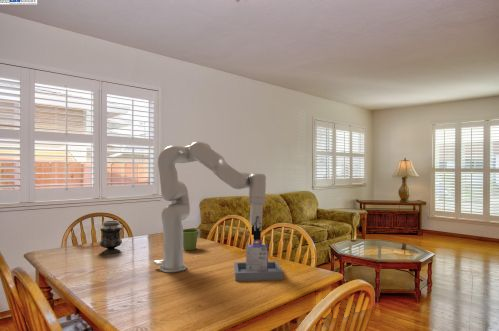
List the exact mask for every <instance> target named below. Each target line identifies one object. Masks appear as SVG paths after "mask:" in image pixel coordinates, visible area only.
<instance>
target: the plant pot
mask: <svg viewBox="0 0 499 331" xmlns="http://www.w3.org/2000/svg"><path fill="white" fill-rule="evenodd" d="M199 232H200V229H198V228H185V229H184V228H183V251H194V250H196V249H197V242H198V235H199Z"/></svg>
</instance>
